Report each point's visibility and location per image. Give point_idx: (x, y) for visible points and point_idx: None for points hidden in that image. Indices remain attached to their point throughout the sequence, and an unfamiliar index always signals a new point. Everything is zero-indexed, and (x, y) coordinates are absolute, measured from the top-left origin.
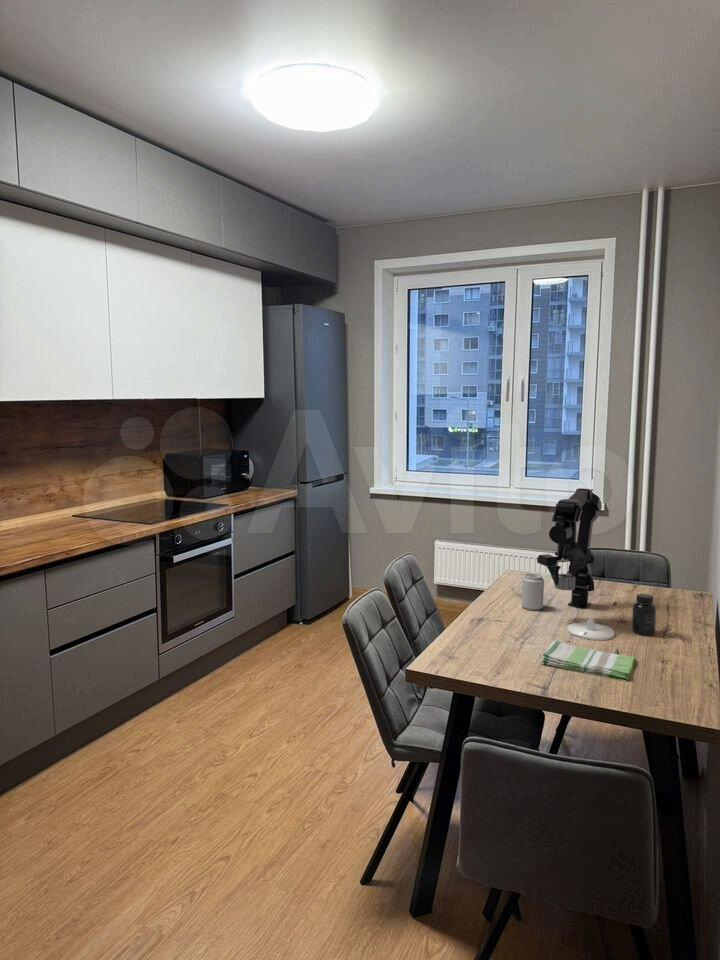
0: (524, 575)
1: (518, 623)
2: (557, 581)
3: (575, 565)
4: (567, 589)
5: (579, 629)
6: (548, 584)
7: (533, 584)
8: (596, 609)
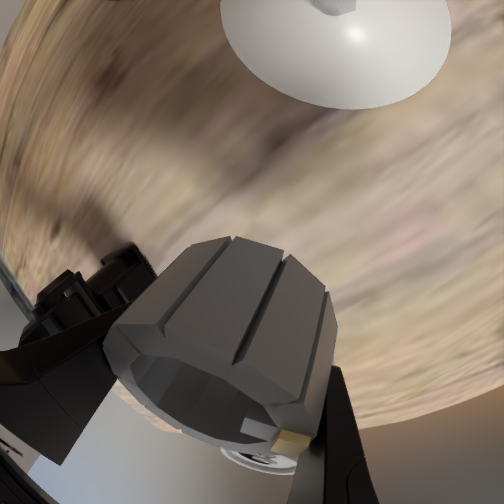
0: (293, 473)
1: (496, 279)
2: (333, 395)
3: (33, 424)
4: (293, 262)
5: (392, 29)
6: None
7: None
8: (107, 220)
